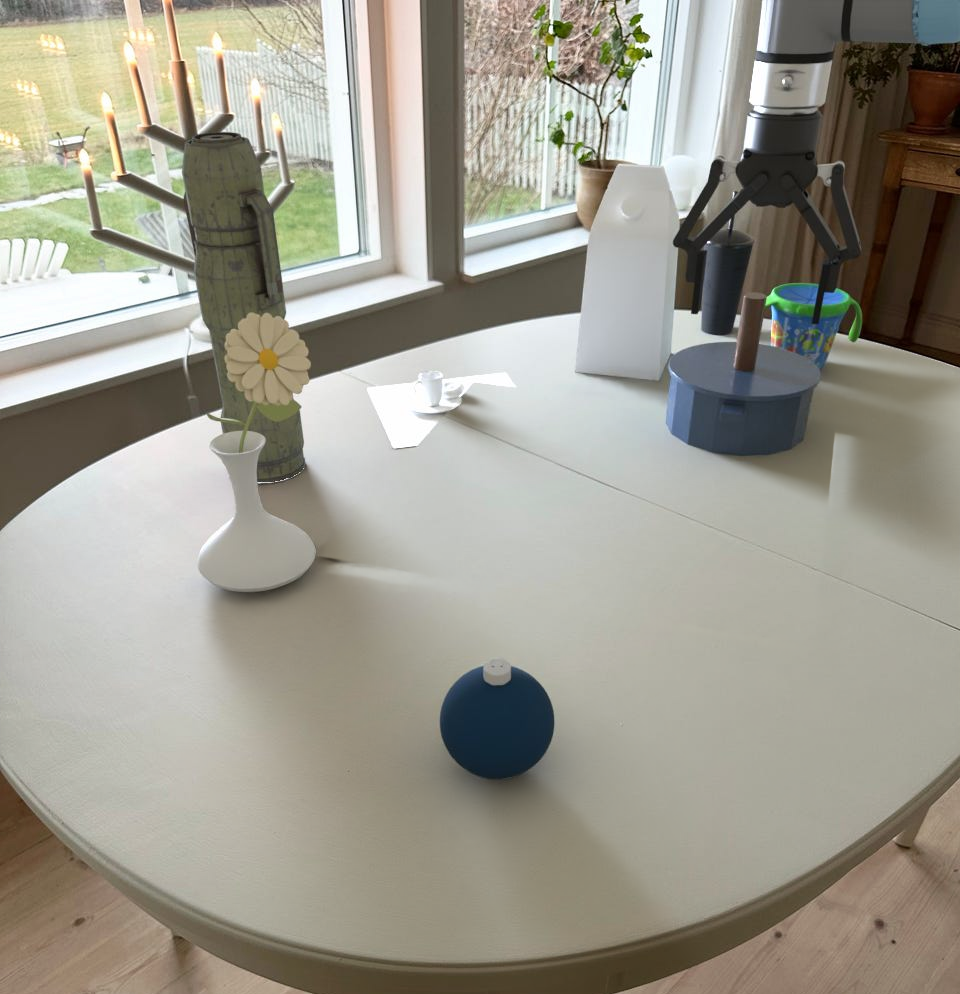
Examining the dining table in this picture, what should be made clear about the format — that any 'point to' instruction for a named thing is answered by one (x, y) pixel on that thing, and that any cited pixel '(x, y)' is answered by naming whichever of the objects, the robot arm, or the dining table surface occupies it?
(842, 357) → the dining table surface
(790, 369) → the lid
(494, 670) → the christmas ornament
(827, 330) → the snack cup
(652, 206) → the milk
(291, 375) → the flower in vase
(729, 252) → the drinking cup
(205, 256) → the thermos
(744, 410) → the pot
